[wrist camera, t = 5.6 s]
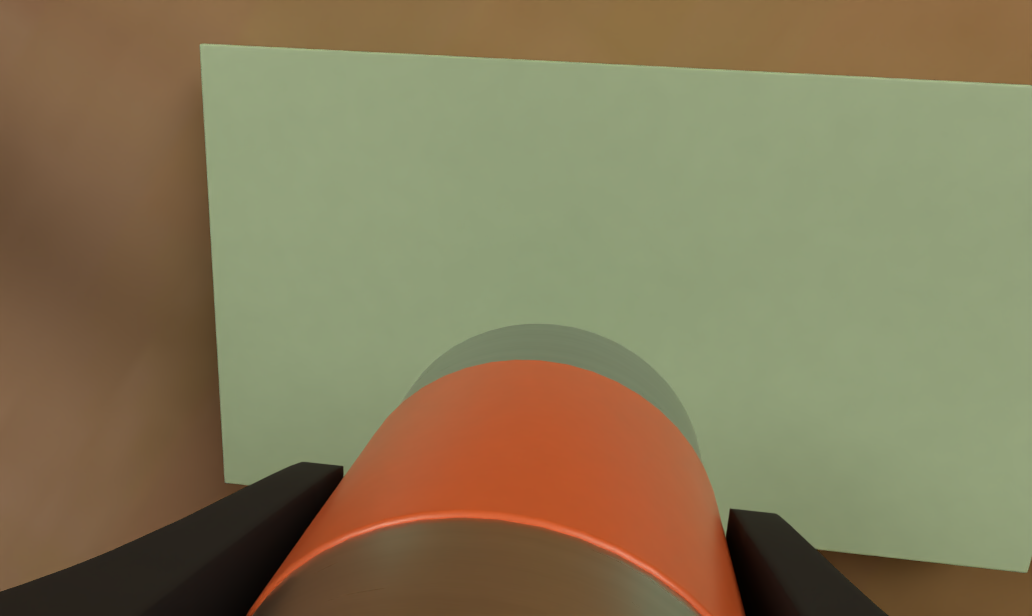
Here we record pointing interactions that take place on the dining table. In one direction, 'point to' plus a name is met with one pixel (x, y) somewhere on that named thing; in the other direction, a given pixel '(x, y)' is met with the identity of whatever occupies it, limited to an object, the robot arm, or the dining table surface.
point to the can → (520, 495)
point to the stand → (645, 268)
